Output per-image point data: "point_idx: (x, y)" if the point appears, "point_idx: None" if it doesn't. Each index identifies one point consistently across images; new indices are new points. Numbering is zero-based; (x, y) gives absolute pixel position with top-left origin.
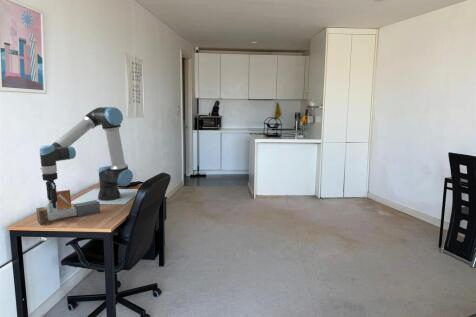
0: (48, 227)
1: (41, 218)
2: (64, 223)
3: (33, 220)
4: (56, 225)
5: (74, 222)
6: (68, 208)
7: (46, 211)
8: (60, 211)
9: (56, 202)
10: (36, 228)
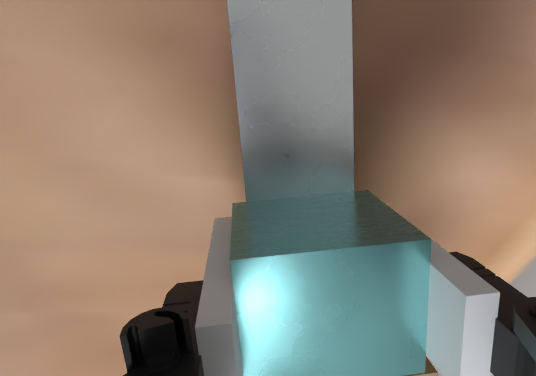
0: None
1: None
2: (471, 132)
3: None
4: (474, 208)
5: (519, 30)
6: (275, 15)
7: (425, 365)
8: (351, 159)
9: (492, 287)
10: (428, 357)
